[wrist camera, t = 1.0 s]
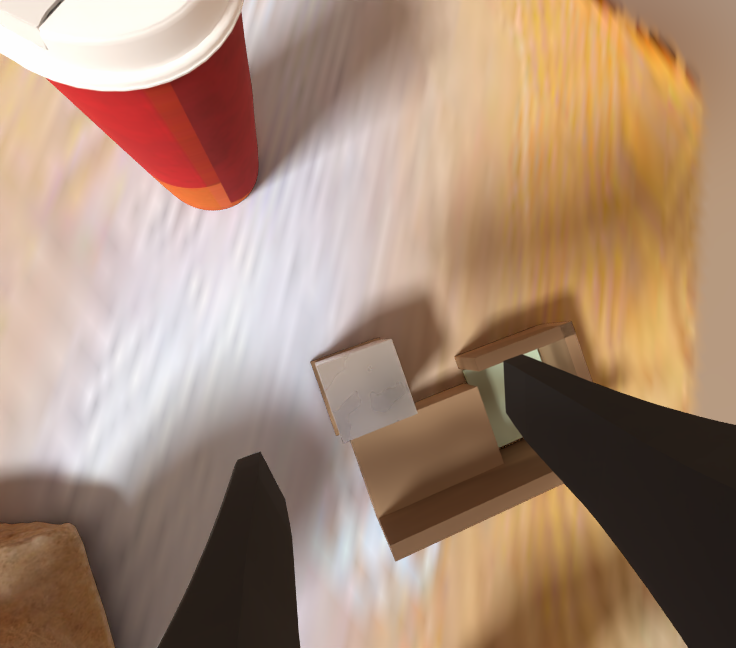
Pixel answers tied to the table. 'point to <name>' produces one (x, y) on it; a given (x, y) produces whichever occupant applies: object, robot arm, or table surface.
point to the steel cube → (366, 388)
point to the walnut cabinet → (459, 446)
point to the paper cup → (151, 83)
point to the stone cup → (48, 589)
